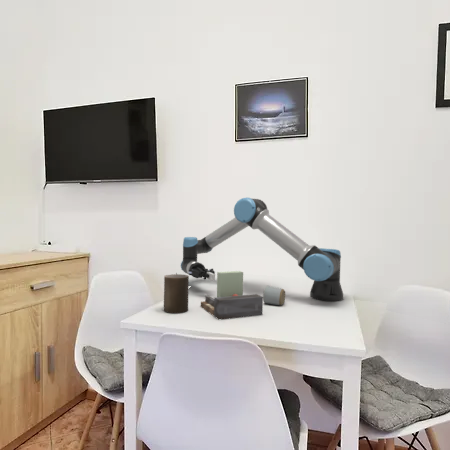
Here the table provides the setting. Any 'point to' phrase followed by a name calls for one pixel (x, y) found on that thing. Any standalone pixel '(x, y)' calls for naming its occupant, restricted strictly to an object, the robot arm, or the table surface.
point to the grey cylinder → (273, 295)
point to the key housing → (234, 306)
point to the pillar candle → (176, 293)
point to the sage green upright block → (229, 283)
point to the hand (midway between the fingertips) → (213, 277)
